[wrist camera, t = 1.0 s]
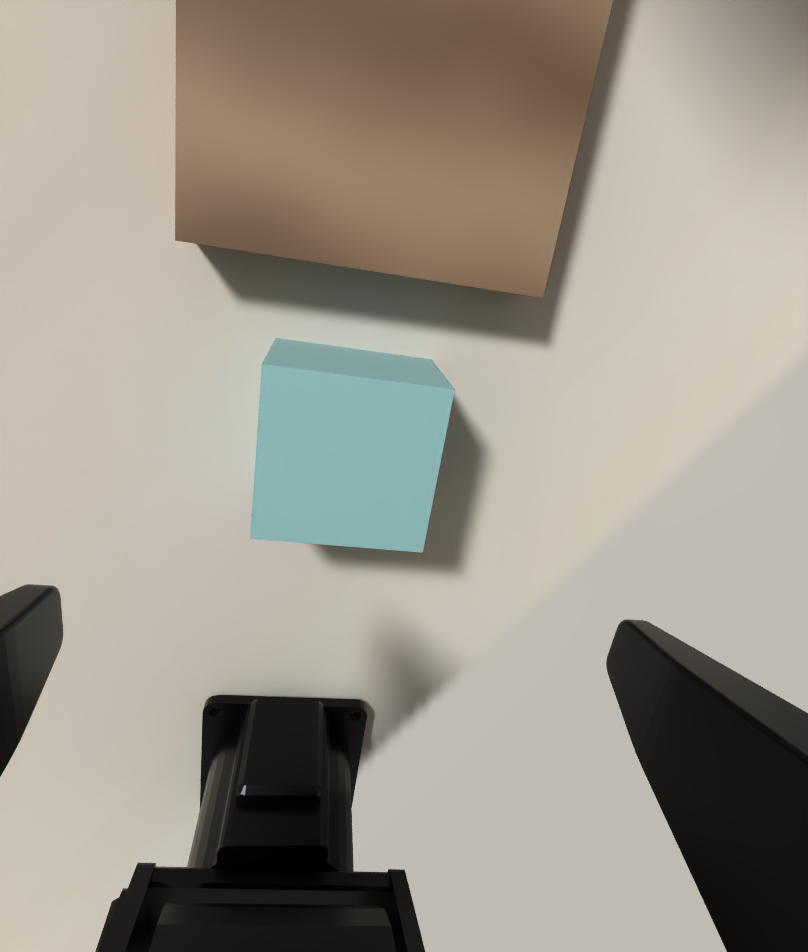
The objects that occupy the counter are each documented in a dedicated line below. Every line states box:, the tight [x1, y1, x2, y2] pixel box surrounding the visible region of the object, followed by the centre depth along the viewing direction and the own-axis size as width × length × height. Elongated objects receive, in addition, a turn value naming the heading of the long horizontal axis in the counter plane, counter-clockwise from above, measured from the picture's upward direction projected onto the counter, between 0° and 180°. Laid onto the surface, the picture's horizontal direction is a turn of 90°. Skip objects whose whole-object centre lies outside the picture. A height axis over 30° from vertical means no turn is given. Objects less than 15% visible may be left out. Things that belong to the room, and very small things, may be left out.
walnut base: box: [175, 0, 613, 298], centre depth 14 cm, size 10×10×2 cm
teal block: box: [250, 338, 455, 553], centre depth 17 cm, size 5×5×4 cm
